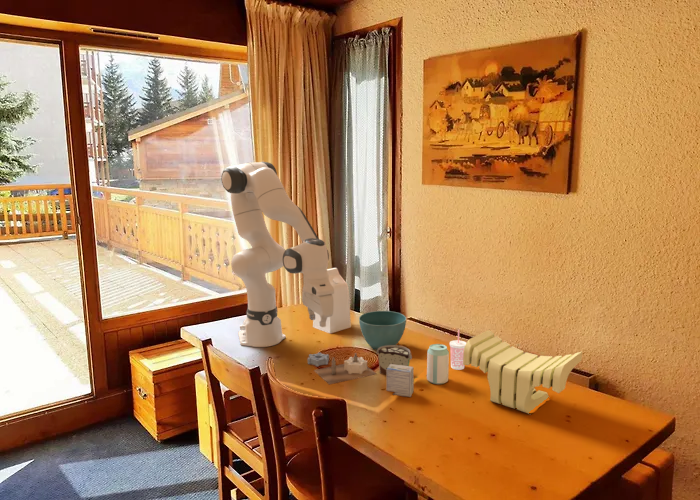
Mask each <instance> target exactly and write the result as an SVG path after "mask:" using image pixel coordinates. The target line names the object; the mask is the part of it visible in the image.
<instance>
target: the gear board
mask: <svg viewBox="0 0 700 500" xmlns="http://www.w3.org/2000/svg"><path fill="white" fill-rule="evenodd" d="M357 354H358V353H357V352H354V356H353V358H354V362H358V358H359V357H358V355H357ZM336 364H337V363H336V360H335V357H332V360H331V366H328V367H323V368H318V369H314V370H313V372H314V373H315V374H317V375H318V376H319V377H320V378H321V379H322V380H323V381H324V382H326V383H327V384H328V385H333V384H338V383H342V382H345V381H351V380H357V379H359V378H364V377H365V378H366V377H369V376H373V375H374V376H375V375H377V372H375V371H374V370H373V369H371V368H370V367H368V366H367V370H365V371H363V372H362V374H359V373H351V374H349V373H348V371H347V370H344V363H342V364H337V365H336Z"/></svg>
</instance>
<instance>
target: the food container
mask: <svg viewBox="0 0 700 500" xmlns="http://www.w3.org/2000/svg"><path fill="white" fill-rule="evenodd" d="M376 355H378V357H377V358H378V365H379V374H381V375H385V376H387V368H388V367H389V365H390V364H394V365H403V366H410V361H411V360H412V358H413V356H412V351H411V350H410V349H409V348H407V347H406V346H403V345H398V344H397V345H387V346H382V347H380V348H378V350H376Z"/></svg>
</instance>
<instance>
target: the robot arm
mask: <svg viewBox="0 0 700 500" xmlns="http://www.w3.org/2000/svg"><path fill="white" fill-rule="evenodd" d="M220 179H221V185H222V187H223V189H224V190H225V191H226V192H227V193H229V194H230V201H231V209H232V214H233V218H234V222H235V226H236V229H237V233H238V235H239V237H240V238H241V239H244V240H246V241H247V242H248V243H249V244H250V246H251V248H245V249H243V250H240V251H238V252H237V253H235V254H233V256H232V258H231V261H230V266H231V270H232V272H233V274H235V276H237V277H238V278H239V279H241V281H242V282H243V284H244V286H245V290H246V294H247V295H246V296H247V309H246V317H245V319H244V320H243V322H242V324H239V331H238V333H237V335H238V340H239V343H240V344H239V345H240V346H248V347H253V348H266V347H271V346H275V345H278V344H280V342H282V341H283V340H284V339H286V334H284V333H283V328H282V320H281V318H280V317H279V316H278V307H277V301H276V300H277V299H276V288H275V286H273V285H272V284H271V283H269V282H268V281H267V278H266V274H268V273H272V272H275V271H278V270H280V269H282V268H284V269H285V271H286V272H288V273H289V274H302V275H303V277H302V278H303V287H302V292H301V293H302V294H301V296H302V297H301V299H302V300H301V301H302V305H304V306H305V307H307V312H308V315H309V319H310V320H311V321H313V320H315V314H314V312H316V313H317V314H319V315H320V318H321V321H320V326H321V327H325V326H326V320H327V317H331V316H332V315H333V295H332V294H334V288H333V286H332V285H331V284H330V281H329V276H328V272H327V269H328V266H329V259H330V258H329V257H330V254H329V253H330V252H329V250H328V247H327V244H326V242H325V241H324V240H323V239H320V238H319V237H318V235H317V233H316V232H315V230H314V228H313V226H312V224H311V223H310V221H309V220H308V218H307V217H306V215H305V213H304V212H303V209H301V208H300V206H298V205H296V203H294V202H293V200H292V199H291V198H290V197H289V196H290V195H288V193H287V191H286V189H285V186H284V185H283V183H282V181H281V179H280V177H279V176H278V172H277V168H275V165H273V163H272V162H267V161H259V162H258V161H256V162H254V161H253V162H252V161H251V162H246V163H242V164H237V165H235V164H234V165H230V166H227V167H225V168H224V169H223V171H222V173H221V177H220ZM264 216H266V218H268V219H271V220H274V221H277V222H282V223H285V224H287V225H289V226H291V227H292V228H293V229H294V230H295V232H296V233H297V235H298V237H299V239H300V240H301V242H300V244H298V245H294V246H291V247H289V248H287V249H285V247H283V246H282V245H280V244H279V243H278V242H277V241H276V240H275V239H274V237H272V235H271V233H270V232H269V229H268V227H267V225H266V222H265V218H264Z"/></svg>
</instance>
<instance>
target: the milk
mask: <svg viewBox="0 0 700 500" xmlns="http://www.w3.org/2000/svg"><path fill="white" fill-rule="evenodd" d="M327 272H328V276H329V281H330V284H331V285H332V286H333V288H334V294H332V295H333V315H332V316H331V317H327V320H326V326H325V327H321V326H320V321H321V318H320V315H319V314H317V313H316V312H314V314H315V320H312V328H314V329H317V330H319V331H321V332H322V331H323V332H325V333H327V334H333V333H337V332H339V331H343V330H346V329H349V328H351V326H352V324H351V323H352V322H351V321H352V320H351V307H350V304H351V303H350V292H349V291H350V289H349V288H350V287H349V284H348V283H347V282H346V281H345V279H344V278H343V277H342V275H341V274H340V272H339V269H338V268H337V267H332V268H327Z"/></svg>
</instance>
